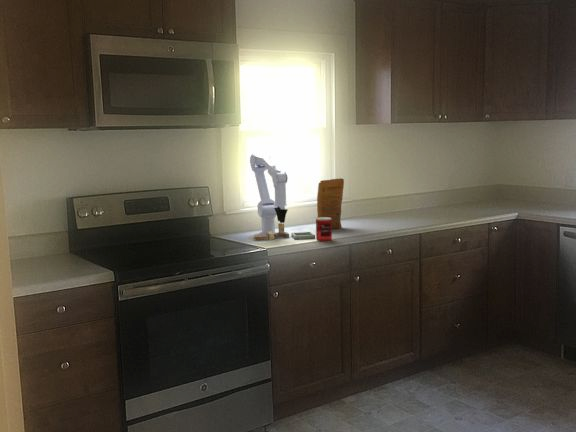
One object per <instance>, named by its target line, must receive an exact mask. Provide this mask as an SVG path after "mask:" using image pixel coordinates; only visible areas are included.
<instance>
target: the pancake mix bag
mask: <svg viewBox="0 0 576 432" xmlns="http://www.w3.org/2000/svg"><path fill="white" fill-rule="evenodd" d="M344 183H345V179H344V178H333V179H331V178H330V179H322V180H319V182H318V186H317V193H316V194H317V197H316V207H317V208H316V211H317V214H316V215H317V217H316V218H320V217H329V218H331V219H332V230H335V229H336V228H338V229H341V228H342V222H341V221H342V220H341V218H342V202H343V196H344V195H343V193H344V189H345V188H344V187H345V185H344Z"/></svg>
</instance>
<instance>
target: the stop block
mask: <svg viewBox="0 0 576 432" xmlns="http://www.w3.org/2000/svg"><path fill="white" fill-rule="evenodd" d="M267 239H268V240H270V241H271V240H275V237H274V233H273V232H268V234H267Z"/></svg>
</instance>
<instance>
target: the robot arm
mask: <svg viewBox="0 0 576 432" xmlns="http://www.w3.org/2000/svg"><path fill="white" fill-rule="evenodd" d="M249 164H250V167H251V171H252V172H254V175H255V176H254V177H255V180H256V181H255V182H256V185H257V189H258V193H259V197H260V200H259V202H258V203H257V206H256V207H257V214H258V216H259V217H260V219H261V231H260V232H259V234H266V235H268V232H273V233H277V232H276V223H275V221H276V219H275V218H277V222H279V224H280V223H284V224H285V222H286V217H287V216H286V215H287V213H288V211H289V209H287V208H286V206H288V205H287V192H286V191H287V189H286V188H287V187H286V185H287V183H288V179H289V178H288V174H287V173H286V171H281V170H280V168H279V167H278V166H277V164H273V163H272V161H271V156H270V154H269V153H252V154H251V155H250V157H249ZM266 171H267V173H268V175H269V176H270V177H271V179H272V181H271V182H272V184H273V188H274V200H273V199H272V198H271V197H270V193H269V188H268V183H267V181H266V175H265V172H266Z"/></svg>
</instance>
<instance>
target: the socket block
mask: <svg viewBox="0 0 576 432" xmlns="http://www.w3.org/2000/svg"><path fill="white" fill-rule="evenodd" d="M289 238H290V233H289V232H287V231H284V234H279V231H278V232H276V233H274V239H289Z"/></svg>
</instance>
